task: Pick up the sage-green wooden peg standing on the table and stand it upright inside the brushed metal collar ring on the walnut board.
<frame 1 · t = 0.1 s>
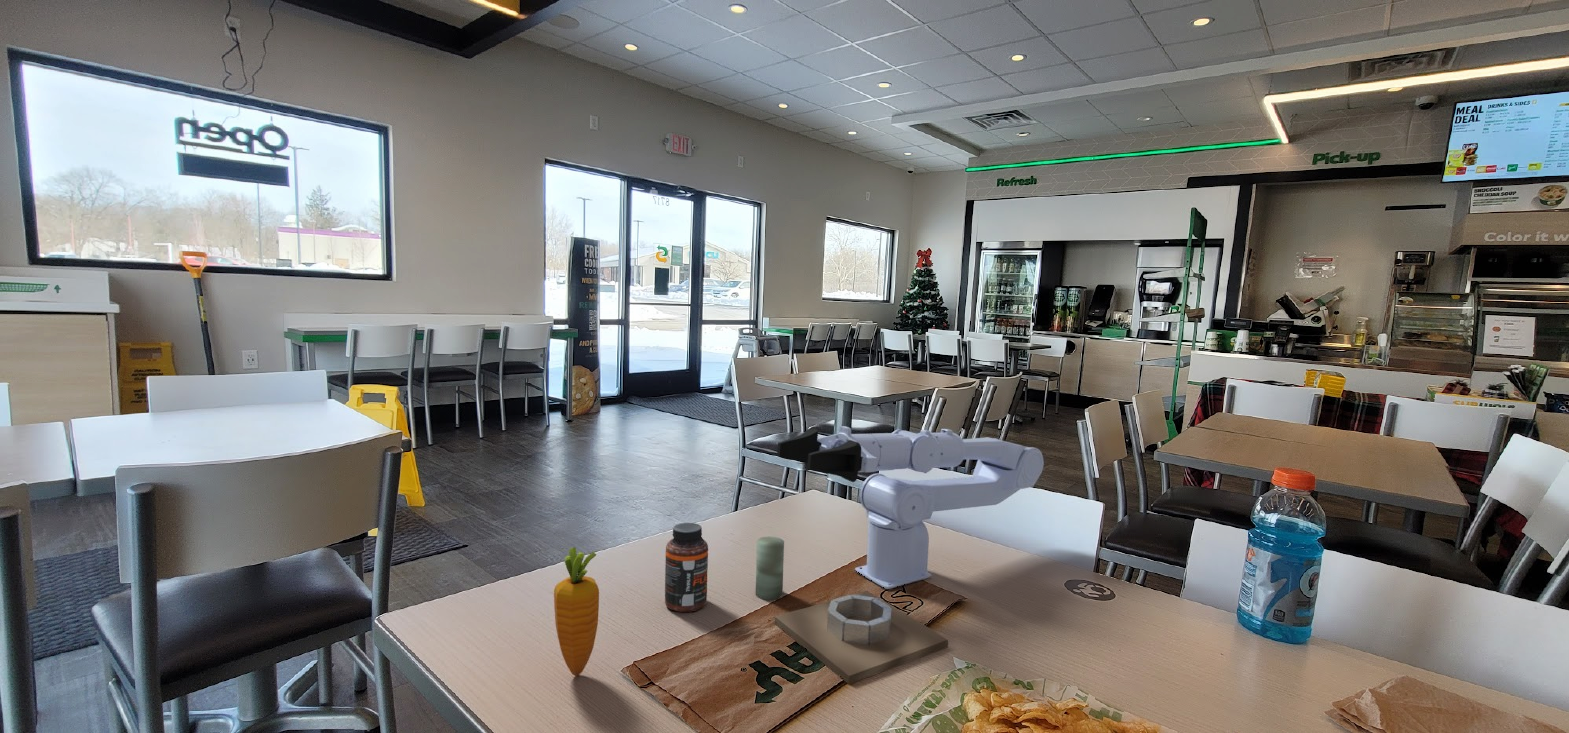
hand: (793, 455, 91), 22 cm above the table, tool horizontal, fingers open, 7 cm apart
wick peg: (769, 593, 96), on the table
collar board: (858, 635, 85), on the table
collar ring: (859, 618, 85), on the collar board, point 2 cm above the table
supplement bottle: (685, 605, 92), on the table
carrot: (576, 677, 74), on the table
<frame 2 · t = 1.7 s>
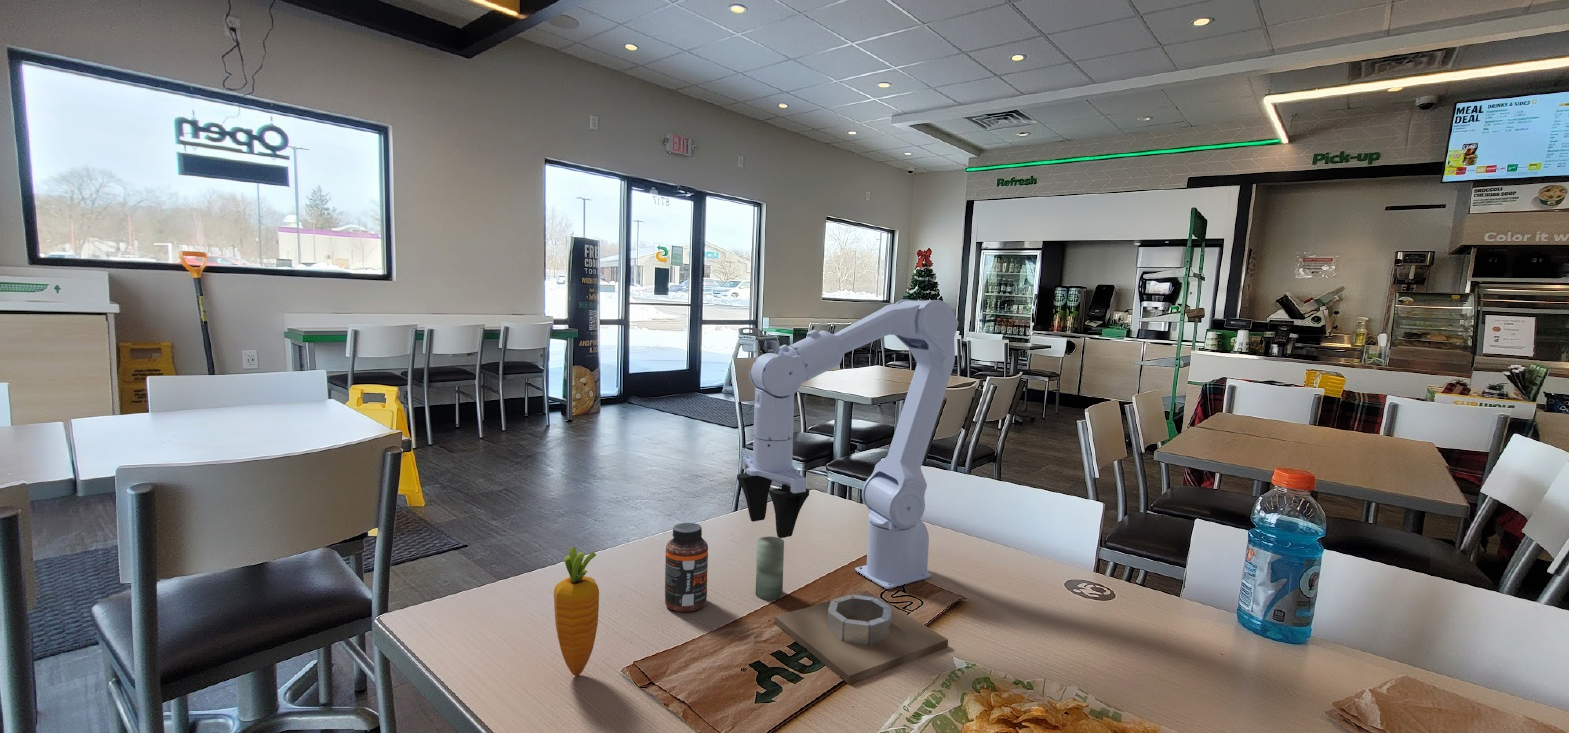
hand: (770, 528, 95), 10 cm above the table, tool pointing down, fingers open, 7 cm apart
nothing on the table moved.
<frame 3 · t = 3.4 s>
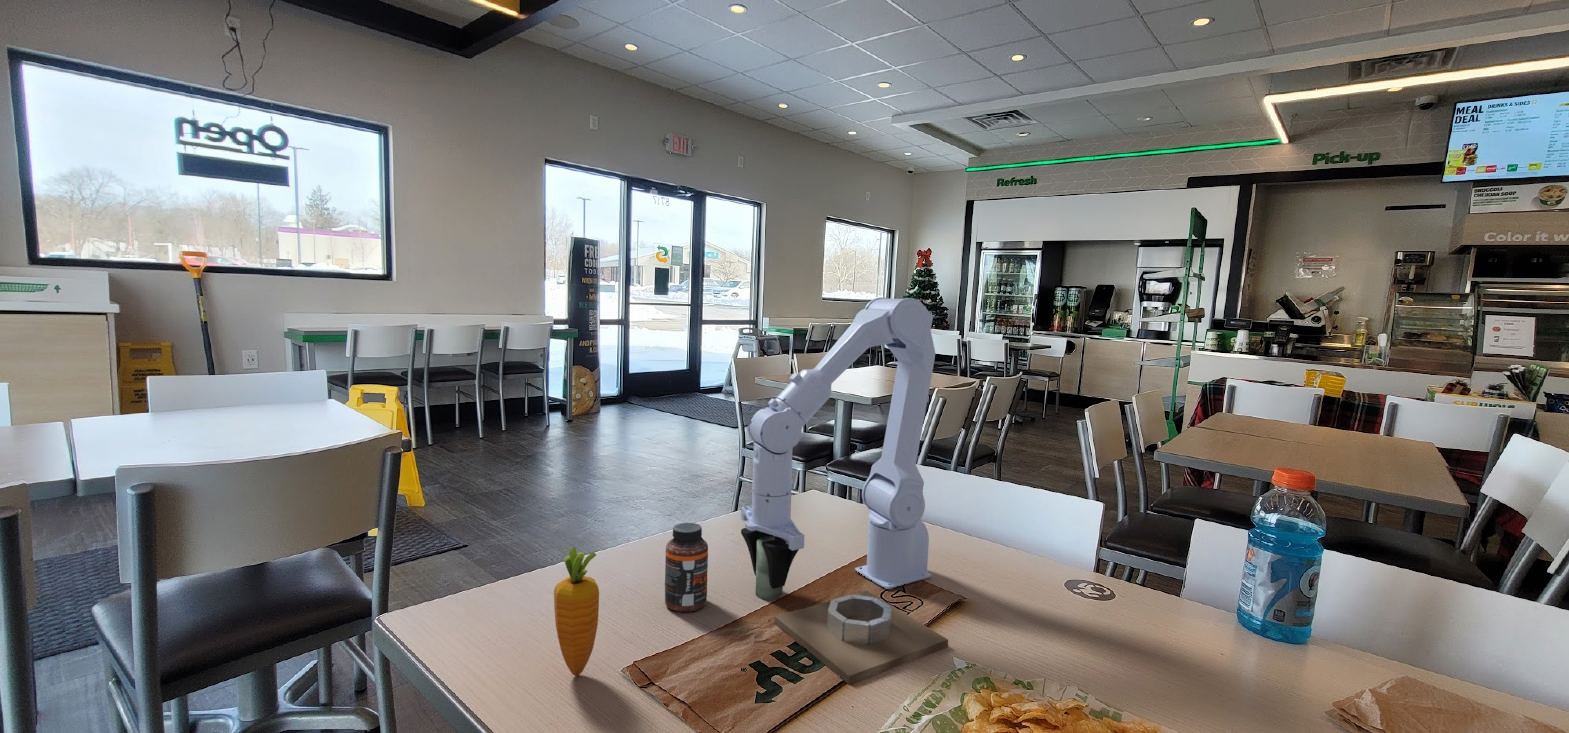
hand: (769, 580, 96), 2 cm above the table, tool pointing down, fingers closed on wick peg, 4 cm apart
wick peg: (769, 593, 96), on the table, touching gripper
everything else where it was.
when the fingers open (5 cm above the table, at t = 8.0 s): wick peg drops 1 cm, resting on collar board.
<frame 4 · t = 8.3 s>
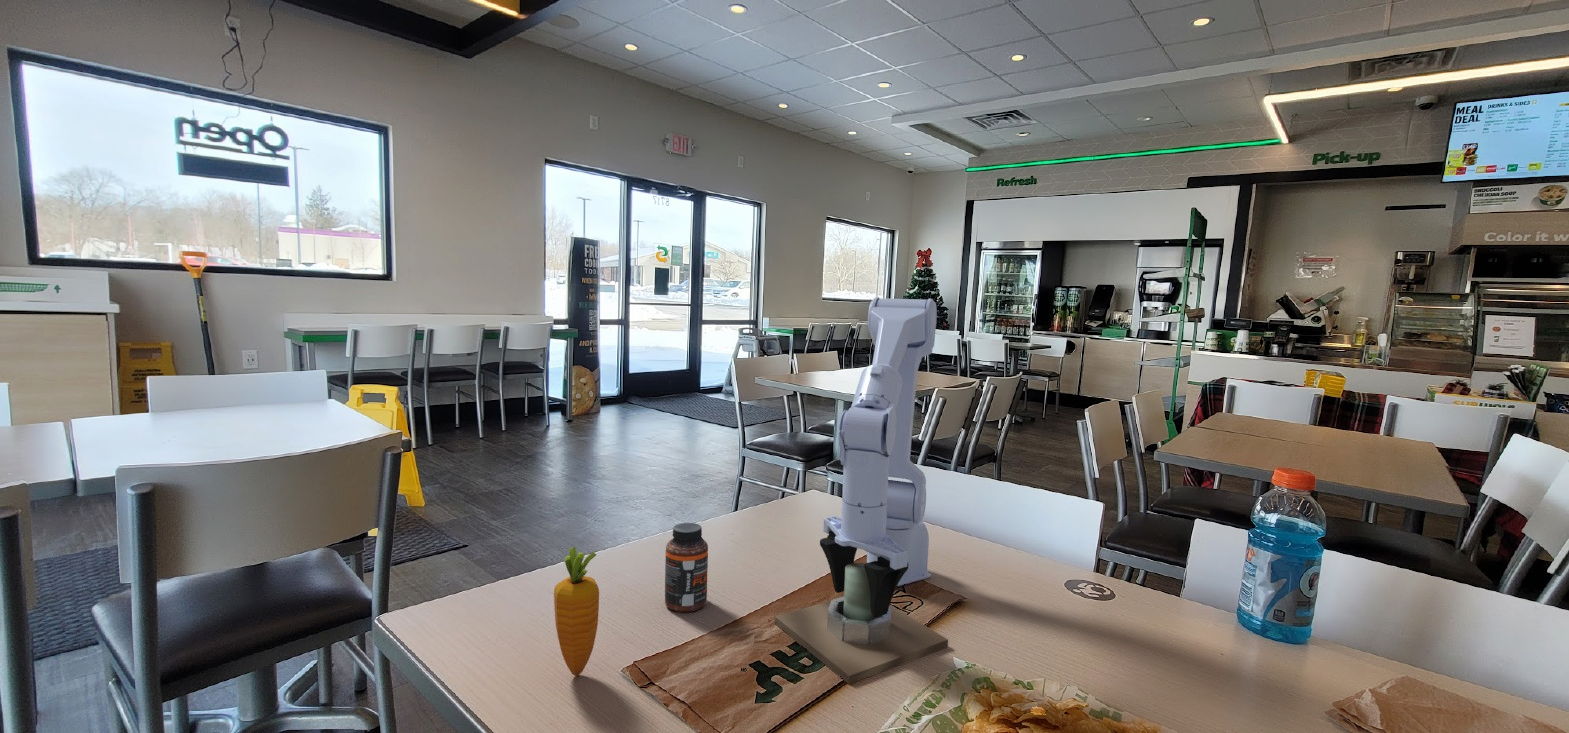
hand: (860, 602, 85), 5 cm above the table, tool pointing down, fingers open, 7 cm apart
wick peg: (858, 627, 85), point 1 cm above the table, touching collar board
everything else where it was.
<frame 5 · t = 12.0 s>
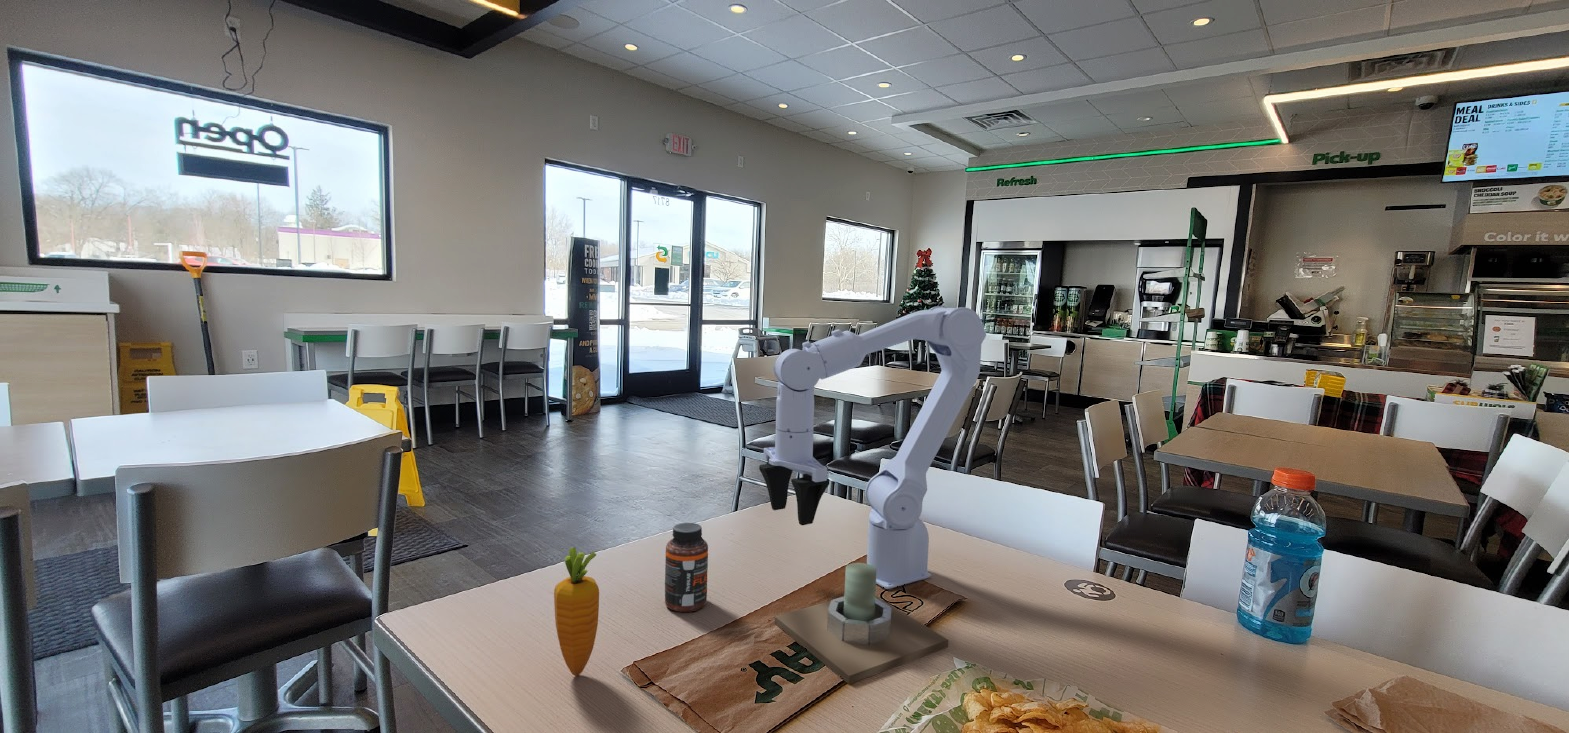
hand: (791, 516, 100), 10 cm above the table, tool pointing down, fingers open, 7 cm apart
nothing on the table moved.
at the end: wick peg 0.1 cm off-centre on the collar board, point 1.0 cm above the collar board's base; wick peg tilted 0°; the gripper is holding nothing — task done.
